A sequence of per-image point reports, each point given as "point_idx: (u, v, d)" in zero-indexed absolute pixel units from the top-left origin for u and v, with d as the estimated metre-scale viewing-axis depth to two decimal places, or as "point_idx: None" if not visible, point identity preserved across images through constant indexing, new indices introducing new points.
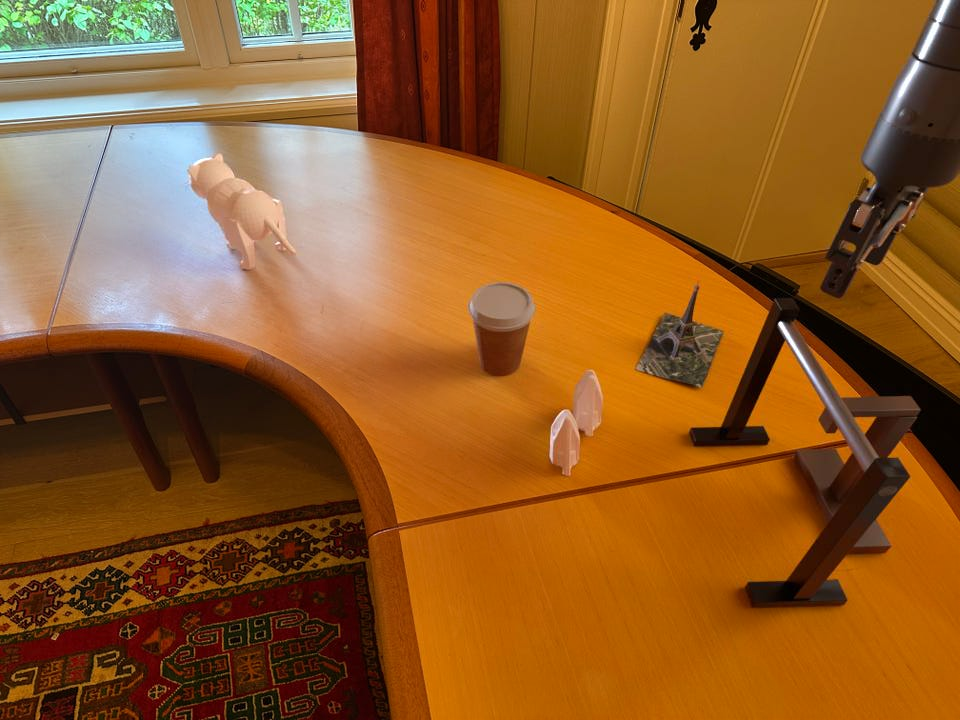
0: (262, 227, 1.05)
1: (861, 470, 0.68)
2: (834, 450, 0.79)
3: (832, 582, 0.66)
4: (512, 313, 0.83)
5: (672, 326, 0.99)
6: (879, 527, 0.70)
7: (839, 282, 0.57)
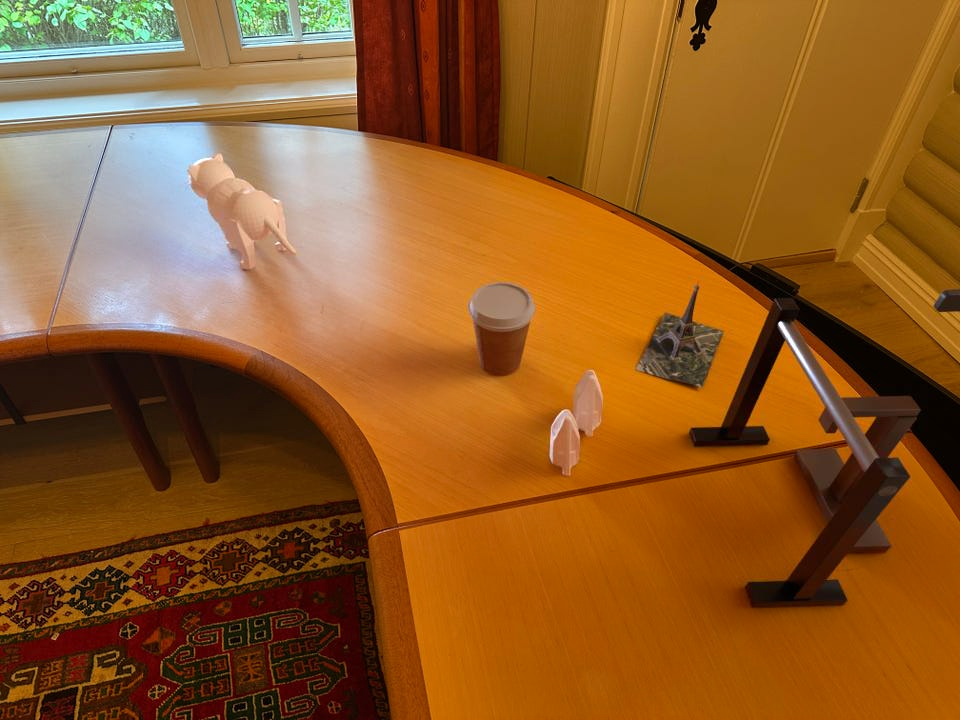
0: (262, 227, 1.05)
1: (861, 470, 0.68)
2: (834, 450, 0.79)
3: (832, 582, 0.66)
4: (512, 313, 0.83)
5: (672, 326, 0.99)
6: (879, 527, 0.70)
7: None
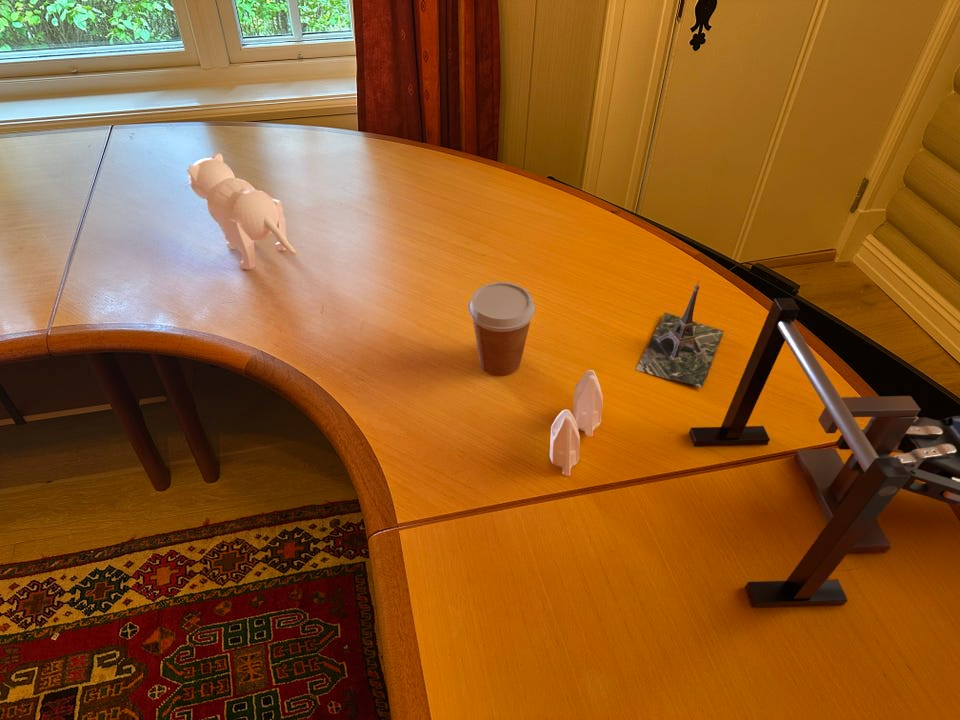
0: (262, 227, 1.05)
1: None
2: (834, 450, 0.79)
3: (832, 582, 0.66)
4: (512, 313, 0.83)
5: (672, 326, 0.99)
6: (879, 527, 0.70)
7: None
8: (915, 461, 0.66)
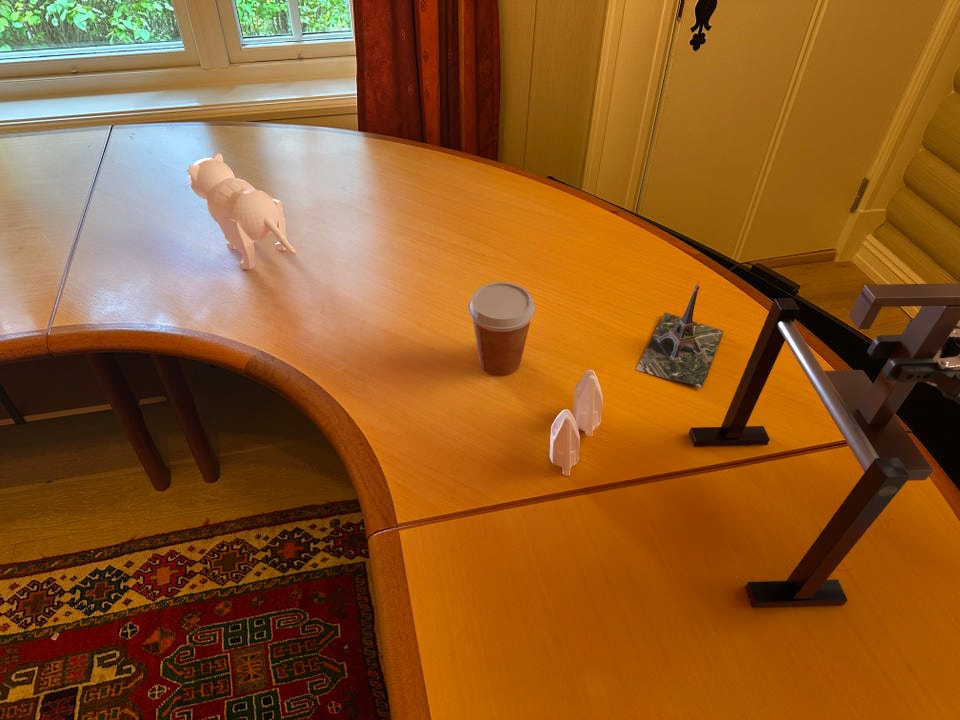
0: (262, 227, 1.05)
1: None
2: (861, 371, 0.68)
3: (832, 582, 0.66)
4: (512, 313, 0.83)
5: (672, 326, 0.99)
6: (918, 450, 0.60)
7: None
8: None
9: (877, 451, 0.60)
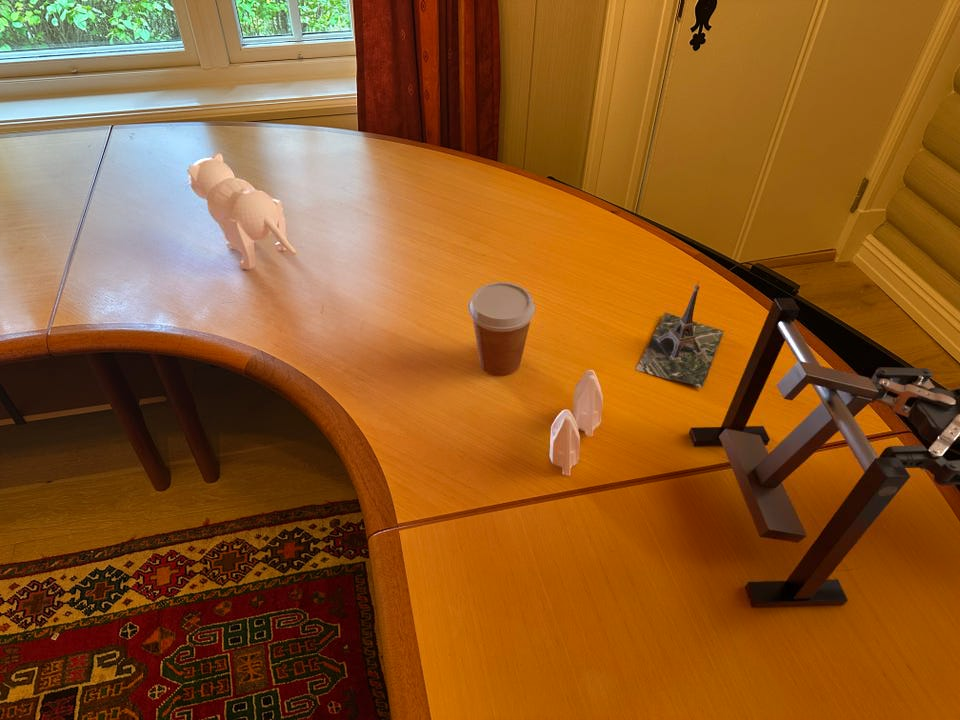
0: (262, 227, 1.05)
1: (797, 451, 0.65)
2: (759, 436, 0.75)
3: (832, 582, 0.66)
4: (512, 313, 0.83)
5: (672, 326, 0.99)
6: (797, 516, 0.67)
7: None
8: (948, 447, 0.60)
9: (765, 510, 0.66)
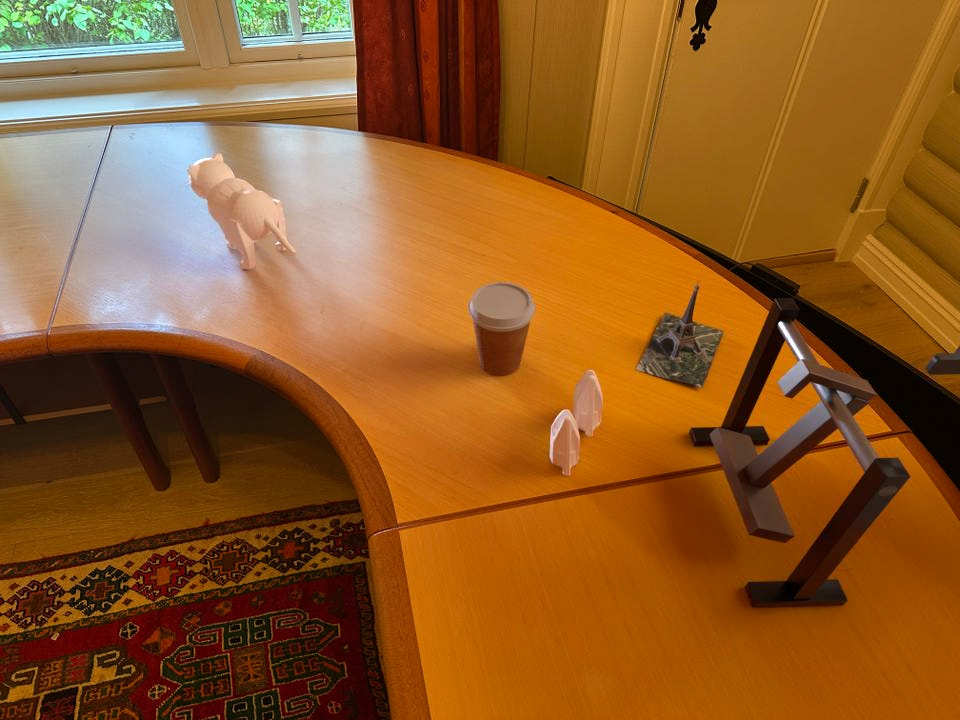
0: (262, 227, 1.05)
1: (790, 451, 0.65)
2: (748, 437, 0.75)
3: (832, 582, 0.66)
4: (512, 313, 0.83)
5: (672, 326, 0.99)
6: (785, 516, 0.67)
7: None
8: None
9: (755, 509, 0.66)
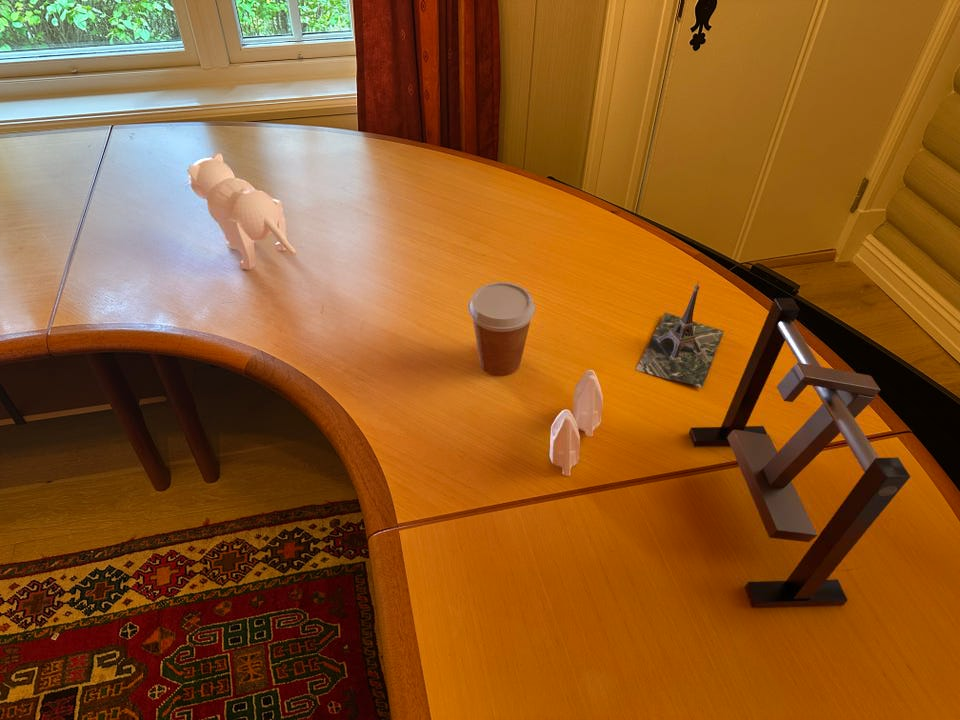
0: (262, 227, 1.05)
1: (803, 451, 0.65)
2: (767, 436, 0.75)
3: (832, 582, 0.66)
4: (512, 313, 0.83)
5: (672, 326, 0.99)
6: (807, 515, 0.67)
7: None
8: None
9: (774, 511, 0.66)
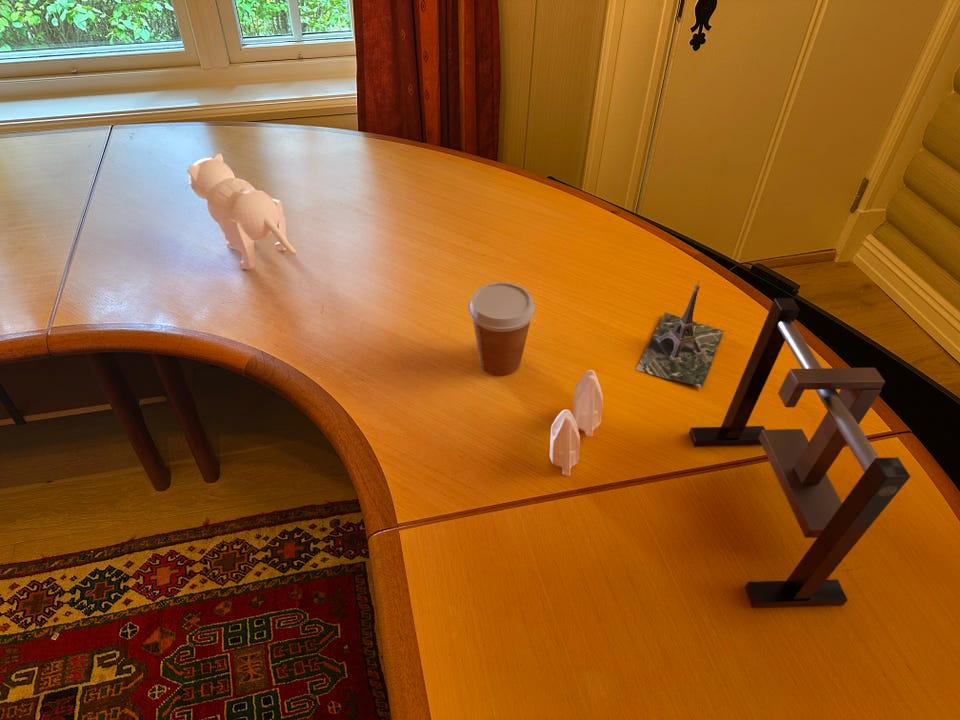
0: (262, 227, 1.05)
1: (824, 448, 0.64)
2: (800, 430, 0.75)
3: (832, 582, 0.66)
4: (512, 313, 0.83)
5: (672, 326, 0.99)
6: None
7: None
8: None
9: (807, 510, 0.66)
